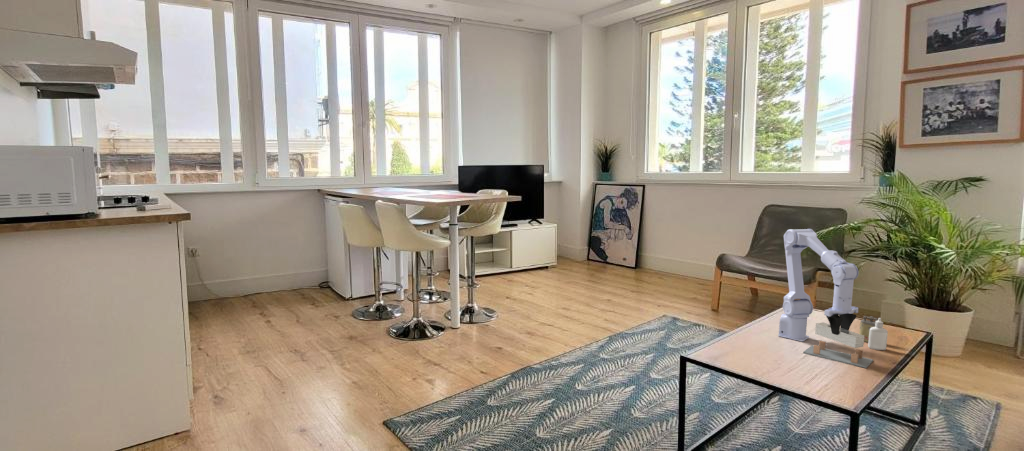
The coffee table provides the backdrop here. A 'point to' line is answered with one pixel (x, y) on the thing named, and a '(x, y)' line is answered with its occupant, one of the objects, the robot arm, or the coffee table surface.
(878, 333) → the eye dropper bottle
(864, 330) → the lighter
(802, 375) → the coffee table surface
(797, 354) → the coffee table surface
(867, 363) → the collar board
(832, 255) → the robot arm
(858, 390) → the coffee table surface
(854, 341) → the silver long block
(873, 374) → the coffee table surface
